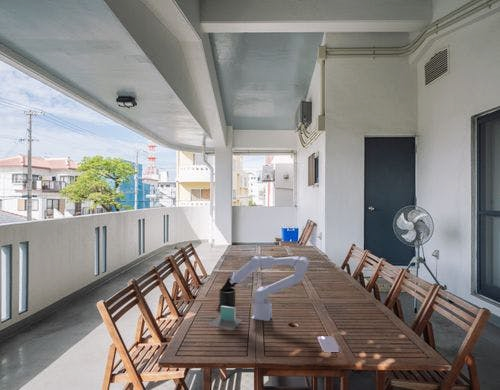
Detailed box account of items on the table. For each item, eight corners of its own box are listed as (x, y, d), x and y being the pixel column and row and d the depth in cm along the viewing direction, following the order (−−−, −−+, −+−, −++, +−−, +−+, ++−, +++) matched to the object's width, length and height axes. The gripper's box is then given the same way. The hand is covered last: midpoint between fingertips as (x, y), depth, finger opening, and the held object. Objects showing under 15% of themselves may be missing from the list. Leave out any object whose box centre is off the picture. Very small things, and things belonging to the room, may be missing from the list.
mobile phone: (323, 351, 141) (317, 335, 156) (323, 353, 141) (317, 337, 156) (341, 351, 141) (333, 335, 156) (341, 353, 141) (333, 337, 156)
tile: (235, 320, 173) (235, 307, 173) (234, 321, 172) (234, 308, 172) (221, 318, 176) (221, 305, 176) (220, 319, 174) (220, 306, 174)
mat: (242, 320, 175) (242, 319, 175) (233, 330, 163) (233, 329, 163) (218, 316, 179) (218, 315, 179) (207, 326, 167) (207, 325, 167)
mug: (217, 309, 191) (217, 293, 191) (220, 301, 203) (221, 287, 203) (233, 309, 190) (233, 294, 190) (236, 302, 202) (236, 287, 202)
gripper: (243, 264, 189) (226, 279, 192) (234, 269, 175) (216, 284, 178) (251, 274, 187) (234, 289, 190) (242, 280, 174) (224, 295, 176)
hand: (226, 287), depth 184 cm, fingers open, 7 cm apart
